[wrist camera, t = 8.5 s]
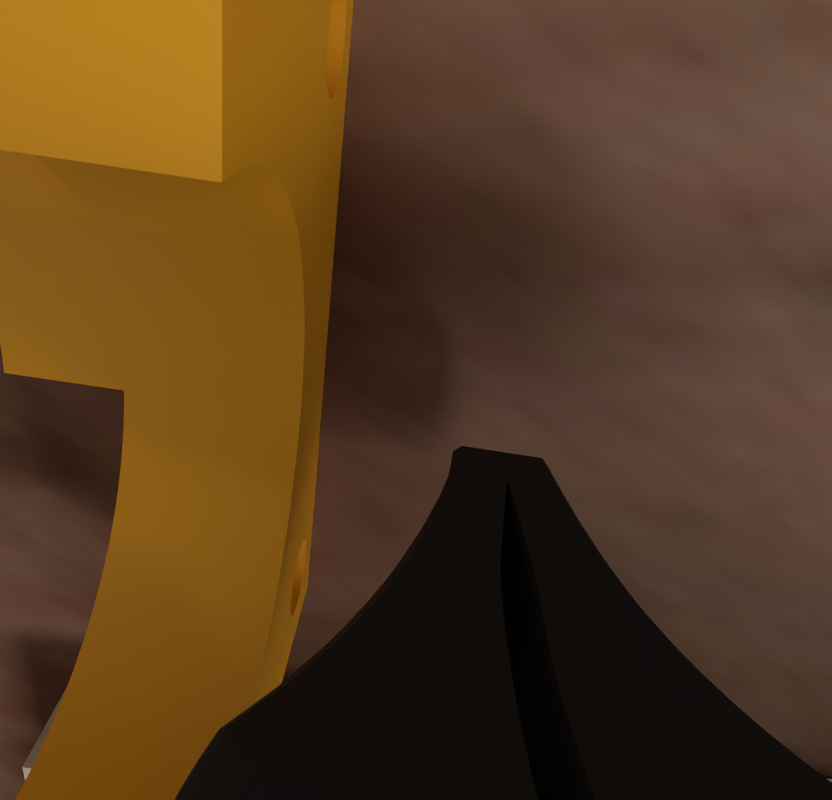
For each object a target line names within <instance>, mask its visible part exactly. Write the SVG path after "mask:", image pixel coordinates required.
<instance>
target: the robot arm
mask: <svg viewBox="0 0 832 800" xmlns="http://www.w3.org/2000/svg"><path fill="white" fill-rule="evenodd" d="M175 800H832V782H831V781H829V780H828V779H826V778H825V777H824V776H822V775H821V774H819V773H818V772H817V771H815V770H814V769H813V768H811V767H810V766H809V765H807V764H806V763H805V762H803V761H802V760H801V759H800V758H798V757H797V756H796V755H795V754H794V753H792V752H791V751H790V750H789V749H787V748H786V747H785V746H784V745H782V744H781V743H780V742H779V741H777V740H776V739H775V738H774V737H773V736H771V735H770V734H769V733H768V732H766V731H765V730H764V729H763V728H761V727H760V726H759V725H758V724H757V723H756V722H754V721H753V720H752V719H751V718H750V717H749V716H748V715H746V714H745V713H744V712H743V711H742V710H741V709H739V708H738V707H737V706H736V705H735V704H734V703H733V702H732V701H730V700H729V699H728V698H727V697H726V696H725V695H724V694H723V693H722V692H721V691H720V690H719V689H718V688H717V687H716V686H715V685H714V684H712V683H711V682H710V681H709V680H708V679H707V678H706V677H705V676H704V675H703V674H702V673H701V672H700V671H699V670H698V669H697V668H696V667H695V666H694V665H693V664H692V663H691V662H690V661H689V660H688V659H687V658H686V657H685V656H684V655H683V654H682V653H681V652H680V651H679V650H678V649H677V648H676V647H675V646H674V645H673V644H672V642H671V641H670V640H669V639H668V638H667V637H666V636H665V635H664V634H663V632H662V631H661V630H660V629H659V628H658V627H657V626H656V625H655V624H654V623H653V621H652V620H651V619H650V618H649V617H648V616H647V615H646V613H645V612H644V611H643V610H642V609H641V607H640V606H639V605H638V604H637V603H636V601H635V600H634V599H633V598H632V596H631V595H630V594H629V592H628V591H627V590H626V588H625V587H624V586H623V584H622V583H621V582H620V580H619V579H618V578H617V576H616V575H615V574H614V572H613V571H612V570H611V568H610V567H609V565H608V564H607V562H606V561H605V560H604V558H603V557H602V555H601V554H600V552H599V551H598V549H597V548H596V546H595V545H594V543H593V542H592V540H591V539H590V537H589V536H588V534H587V532H586V531H585V529H584V528H583V526H582V525H581V523H580V521H579V520H578V518H577V517H576V515H575V513H574V512H573V510H572V508H571V507H570V505H569V503H568V502H567V500H566V498H565V496H564V495H563V493H562V491H561V489H560V488H559V486H558V484H557V482H556V480H555V479H554V477H553V475H552V473H551V471H550V470H549V468H548V466H547V465H546V463H545V462H544V460H543V459H542V458H538V457H531V456H524V455H518V454H511V453H504V452H498V451H491V450H485V449H478V448H471V447H465V446H461V447H460V448H458V449H456V450H455V451H453V455H452V461H451V466H450V471H449V475H448V478H447V481H446V483H445V485H444V487H443V490H442V492H441V494H440V496H439V498H438V500H437V502H436V504H435V506H434V508H433V510H432V511H431V513H430V515H429V517H428V519H427V521H426V523H425V524H424V526H423V528H422V529H421V531H420V532H419V534H418V535H417V537H416V538H415V540H414V541H413V543H412V544H411V546H410V547H409V549H408V550H407V552H406V553H405V555H404V556H403V558H402V559H401V561H400V562H399V564H398V565H397V566H396V568H395V569H394V570H393V572H392V573H391V574H390V575H389V577H388V578H387V579H386V581H385V582H384V583H383V584H382V585H381V587H380V588H379V589H378V590H377V591H376V593H375V594H374V595H373V596H372V598H371V599H370V600H369V601H368V602H367V603H366V604H365V605H364V606H363V608H362V609H361V610H360V611H359V612H358V613H357V614H356V615H355V616H354V617H353V618H352V619H351V620H350V621H349V623H348V624H347V625H346V626H345V627H344V628H343V629H342V630H341V631H340V632H339V633H338V634H337V635H336V636H335V637H334V638H333V639H332V640H331V641H330V642H329V643H328V644H326V645H325V646H324V647H323V648H322V649H321V650H320V651H318V652H317V653H316V654H315V655H314V656H313V657H312V658H310V659H309V660H308V661H307V662H306V663H305V664H304V665H302V666H301V667H300V668H299V669H298V670H297V671H296V672H294V673H293V674H292V675H291V676H290V677H289V678H288V679H286V680H285V681H284V682H283V683H281V684H280V685H279V686H278V687H276V688H275V689H274V690H272V691H271V692H270V693H268V694H267V695H266V696H264V697H263V698H261V699H260V700H259V701H257V702H256V703H255V704H253V705H252V706H250V707H249V708H248V709H246V710H245V711H244V712H242V713H241V714H239V715H238V716H237V717H235V718H234V719H232V720H231V721H230V722H228V723H227V724H225V725H224V726H223V727H221V728H220V729H219V730H218V732H217V733H216V735H215V736H214V737H213V739H212V740H211V742H210V743H209V745H208V746H207V748H206V749H205V751H204V752H203V754H202V755H201V757H200V758H199V760H198V761H197V763H196V764H195V766H194V767H193V769H192V771H191V772H190V774H189V776H188V777H187V779H186V780H185V782H184V784H183V785H182V787H181V789H180V791H179V792H178V794H177V796H176V798H175Z"/></svg>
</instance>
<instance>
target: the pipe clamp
mask: <svg viewBox="0 0 832 800" xmlns="http://www.w3.org/2000/svg"><path fill="white" fill-rule="evenodd" d="M353 3H354V0H0V346H1V352H2V358H3V368H4V373H8V374H15V375H22V376H29V377H35V378H42V379H49V380H56V381H62V382H69V383H76V384H83V385H90V386H96V387H103V388H110V389H117V390H124V428H123V445H122V459H121V469H120V478H119V487H118V494H117V501H116V507H115V514H114V520H113V525H112V531H111V536H110V541H109V547H108V551H107V555H106V560H105V564H104V569H103V573H102V577H101V581H100V585H99V589H98V593H97V596H96V600H95V604H94V608H93V611H92V614H91V618H90V621H89V624H88V628H87V631H86V634H85V637H84V640H83V643H82V646H81V649H80V652H79V655H78V658H77V661H76V664H75V667H74V670H73V672H72V675H71V678H70V680H69V683H68V686H67V688H66V691H65V693H64V696H63V699H62V701H61V704H60V706H59V708H58V711H57V713H56V715H55V718H54V720H53V723H52V725H51V727H50V730H49V732H48V734H47V736H46V739H45V741H44V743H43V745H42V747H41V749H40V751H39V754H38V756H37V758H36V760H35V762H34V764H33V766H32V768H31V770H30V772H29V774H28V776H27V778H26V780H25V782H24V784H23V786H22V788H21V790H20V792H19V794H18V796H17V798H16V800H175V798H176V796H177V794H178V792H179V791H180V789H181V787H182V785H183V784H184V782H185V780H186V779H187V777H188V776H189V774H190V772H191V771H192V769H193V767H194V766H195V764H196V763H197V761H198V760H199V758H200V757H201V755H202V754H203V752H204V751H205V749H206V748H207V746H208V745H209V743H210V742H211V740H212V739H213V737H214V736H215V735H216V733H217V732H218V730H219V729H220V728H221V727H223V726H224V725H225V724H227V723H228V722H230V721H231V720H232V719H234V718H235V717H237V716H238V715H239V714H241V713H242V712H244V711H245V710H246V709H248V708H249V707H250V706H252V705H253V704H255V703H256V702H257V701H259V700H260V699H261V698H263V697H264V696H266V695H267V694H268V693H270V692H271V691H272V690H274V689H275V688H276V687H278V686H279V685H280V684H281V683H282V681H283V677H284V673H285V669H286V666H287V662H288V658H289V654H290V651H291V647H292V643H293V639H294V636H295V632H296V628H297V624H298V621H299V617H300V613H301V609H302V606H303V602H304V598H305V594H306V591H307V587H308V577H309V565H310V552H311V539H312V526H313V513H314V501H315V488H316V475H317V462H318V450H319V437H320V424H321V411H322V399H323V386H324V373H325V360H326V347H327V335H328V322H329V309H330V296H331V284H332V271H333V258H334V245H335V233H336V220H337V207H338V194H339V181H340V169H341V156H342V143H343V130H344V118H345V105H346V92H347V79H348V67H349V54H350V41H351V28H352V15H353Z"/></svg>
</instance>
